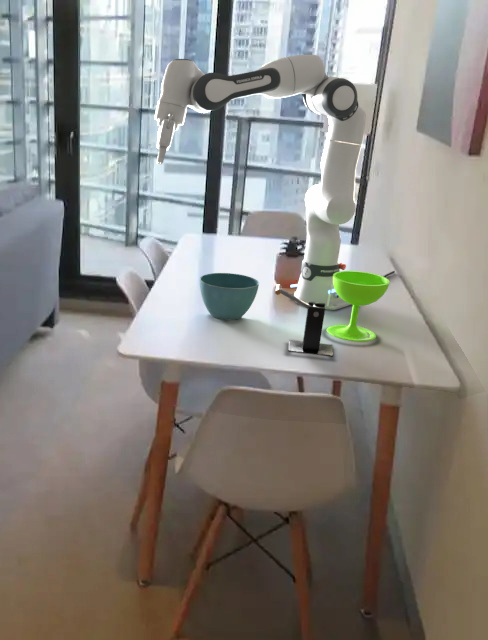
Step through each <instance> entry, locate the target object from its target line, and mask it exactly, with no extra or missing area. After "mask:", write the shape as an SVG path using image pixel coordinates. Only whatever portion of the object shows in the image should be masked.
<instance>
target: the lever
mask: <svg viewBox="0 0 488 640" xmlns="http://www.w3.org/2000/svg"><path fill="white" fill-rule="evenodd" d="M274 293H275V295H276V296H279V295H280V294H281V295H283V296H285V297H286V298H287V299H290V300H291V301H293V302H295V303H296V302H297V303H296V304H298V305H300V306H302V307H304V308H305V309H307V310H308V308H309V306H311V305H309V304H307V303H305V302H304V301H302V300H300V299H299V298H297V297H295V296H294V294H292V293H289V292H288V291H287V290H285V289H283V288H282V284H280V283H278V284H276V286H275V290H274ZM313 306H315V307H318V306H317V305H315V304H314V305H313Z"/></svg>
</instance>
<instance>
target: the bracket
mask: <svg viewBox="0 0 488 640" xmlns="http://www.w3.org/2000/svg"><path fill="white" fill-rule="evenodd" d="M314 304H315V305H317V306H318V307H315V306H313V305H314ZM309 305H311V306H309V308H308V309H307V312H306V317H305V325H304V331H303V332H304V333H303V339H302V340H294V339H289V340H288V341H289V342H288V348H287V349H288V352H290V353H291V352H292V353H300V354H309V355H315V356H325V357H333V356H334V354H333V353H334V351H333V344H329V343H321V338H322V332H323V325H324V319H325V313H326V309H325V303H317V302H309Z"/></svg>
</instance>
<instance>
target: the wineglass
mask: <svg viewBox="0 0 488 640" xmlns="http://www.w3.org/2000/svg"><path fill="white" fill-rule="evenodd" d="M383 276H384V275H380V274H377V273H372V272H366V271H358V270H340V272H336V273H334V274H333V285H334V289H335V291H336V293H337V294H338V296H339V297H340V298H341V299H343V300H344V301H345V302H347V303H349V304H351V305H352V307H351V314H350V320H349V324H335V325H330V326H328V327H327V328H326V332H327V333H328V334H329V335H330V336H333V337H334V338H336V339H340V340H344V341H350V342H369V341H370V342H371V341H373V340H375V339H376V338H377V334H376V333H375V332H374V331H372V330H370V329H368V328H366V327H365V328H364V327H361V326H358V325H357V324H358V323H357V322H358V317H359V311H360V307H361V306H369V305H372V304H373V303H377V301H378V300H380V299H381V298H382V297H383V296H384V295H385V294H386V292H387V290H388V289H389V286H390V283H391V281H390V279H388V278H387V277H383Z"/></svg>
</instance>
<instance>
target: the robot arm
mask: <svg viewBox="0 0 488 640" xmlns="http://www.w3.org/2000/svg"><path fill="white" fill-rule="evenodd" d="M255 95H263V96H264V97H265V98H267V99H281V98H289V97H293V96H297V95H301V96H302V101H303V103H304V105H305V107H306V108H307V110H309V111H310V112H311V113H313V114H317V115H320V116H323V117H327V118H328V125H329V126H328V132H327V135H326V140H325V144H324V148H323V153H322V156H321V161H320V170H321V182H320V183H318V184H314V185H312V186H311V187H310V188H309V189H308V190H307V191H306V193H305V195H304V196H305V197H304V202H305V207H306V243H305V248H304V255H303V256H304V257H303V260H302V262H301V267H300V271H301V273H300V275H299V279H298V282H297V283H295V284H290V288H296V291H294V294H293V296H295V297H297V298H299V299H300V300H302V301H304V302H305V303H307V304H309V302H317V303H325V310H331V311H336V310H339V309H342V308H345V307H348V306H351V305H352V304H349V303H347V302H345V301H344V300H343V299H341V298H340V297H339V296H338V294H337V293H336V291H335V289H334V285H333V274H334V273H336V272H340V271H346V268H347V264H345V263H342V262H340V263H338V262H339V258H340V257H339V256H340V249H341V243H342V238H341V234H340V225H344V224H346V223H348V222H350V221H351V220H352V218H353V217H354V215H355V213H356V202H355V187H356V173H357V167H358V163H359V158H360V154H361V150H362V145H363V141H364V137H365V132H366V131H365V130H366V120H367V114H366V111H365V110H364V108H362V107H361V106H359V101H358V91H357V88H356V86H355V84H354V83H353V82H352V81H350V80H349V79H347V78H343V77H337V76H328V75H327V73H326V66H325V63H324V61H323V59H322V58H321V56H318V55H317V54H297V55H290V56H285V57H284V56H283V57H281V58H277V59H274V60H271V61H269V62H267V63H265V64H263V65H262V66H261V67H259V68H258V69H256V70H253V71H247V72H243V73H238V74H232V75H226V74H222V73H218V72H207V73H204V72H203V71H202V70H201V69H200V68H199V67H198V66H197V64H196V63H195V61H194V60H192V59H189V58H175V59H173V60H171V61H169V62H168V64H167V65H166V68H165V71H164V75H163V78H162V82H161V86H160V96H159V99H158V101H157V105H156V109H155V114H154V120H156V121H157V127H158V131H157V141H156V148H157V149H158V152H157V158H156V164H157V165H163V163H164V161H165V156H166V154H167V151H169V149H170V147H171V145H172V141H173V137H174V134H175V132H176V131H178V130H179V127H180V126H181V127H182V126H184V123H185V119H186V115H187V110H188V108H189V109H192V110H194V111H195V112H198V113H201V114H202V113H203V114H206V113H208V112H211V111H212V112H213V111H217V110H220V109H222V108H223V107H224V106H226V105H227V104H229V102H230V101H234V100H235V99H239V98H241V99H242V98H246V97H250V96H255ZM395 273H396V271H395V270H392V271H390V272H388V273H386V274H384V275H382V276H383V277H385V278H387V277H389V276H391V275H392V274H395ZM295 303H296V304H298V303H297V302H295Z"/></svg>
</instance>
